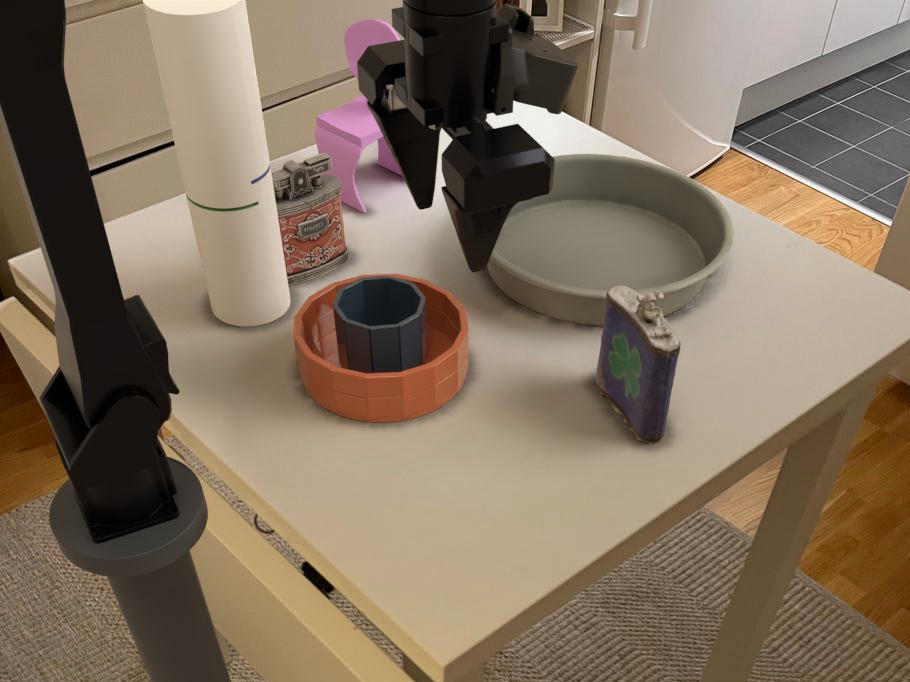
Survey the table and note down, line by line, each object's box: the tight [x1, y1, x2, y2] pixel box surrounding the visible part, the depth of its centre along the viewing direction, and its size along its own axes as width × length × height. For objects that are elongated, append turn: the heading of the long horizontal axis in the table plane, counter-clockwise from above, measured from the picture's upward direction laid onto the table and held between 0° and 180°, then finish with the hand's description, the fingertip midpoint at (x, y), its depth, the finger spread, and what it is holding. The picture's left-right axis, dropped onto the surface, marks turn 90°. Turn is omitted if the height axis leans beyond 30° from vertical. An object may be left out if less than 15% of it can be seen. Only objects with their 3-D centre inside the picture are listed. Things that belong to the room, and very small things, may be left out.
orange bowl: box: [293, 273, 469, 423], centre depth 83 cm, size 14×14×4 cm
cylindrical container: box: [142, 0, 291, 327], centre depth 81 cm, size 7×7×25 cm
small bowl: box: [333, 275, 427, 373], centre depth 82 cm, size 7×8×6 cm
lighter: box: [271, 153, 350, 286], centre depth 90 cm, size 8×3×10 cm, turn 130°
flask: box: [594, 286, 681, 446], centre depth 78 cm, size 9×3×11 cm, turn 24°
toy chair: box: [314, 18, 403, 214], centre depth 97 cm, size 8×9×15 cm
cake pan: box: [486, 153, 735, 326], centre depth 94 cm, size 25×25×4 cm
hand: (450, 238), depth 72 cm, fingers open, 9 cm apart
